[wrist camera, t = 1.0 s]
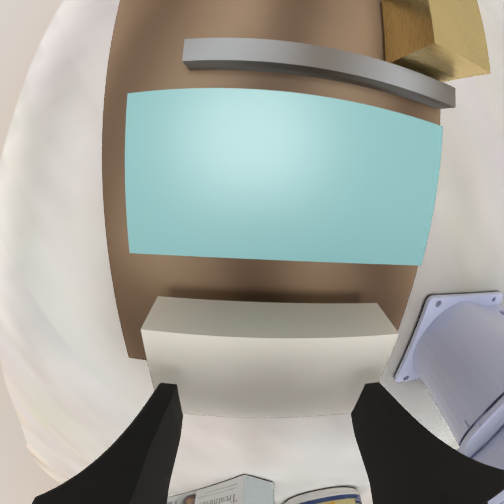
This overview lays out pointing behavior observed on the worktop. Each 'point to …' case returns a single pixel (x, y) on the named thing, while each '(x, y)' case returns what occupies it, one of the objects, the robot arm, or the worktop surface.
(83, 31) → the worktop surface
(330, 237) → the teal button
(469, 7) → the brass slider
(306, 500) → the supplement tub
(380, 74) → the panel
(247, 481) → the skincare box
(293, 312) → the white rectangular block
